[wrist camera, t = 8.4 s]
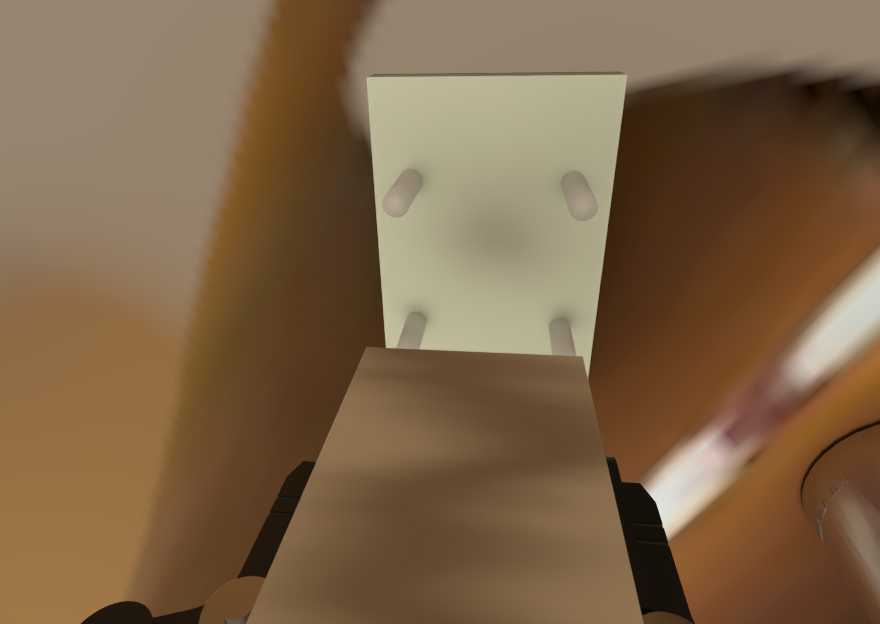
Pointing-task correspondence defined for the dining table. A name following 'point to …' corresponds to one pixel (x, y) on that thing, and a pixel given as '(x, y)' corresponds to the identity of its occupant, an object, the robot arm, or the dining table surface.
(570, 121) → the plate
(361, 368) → the maple block
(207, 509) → the dining table surface
